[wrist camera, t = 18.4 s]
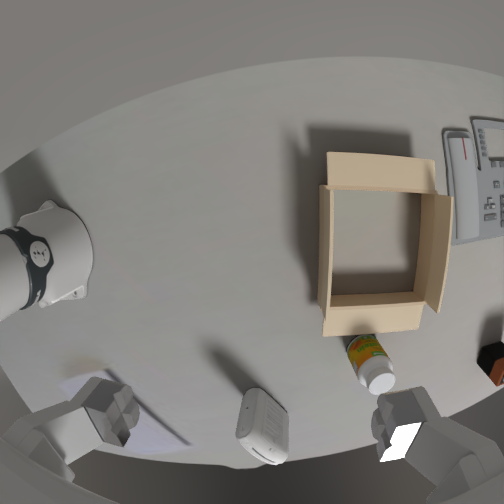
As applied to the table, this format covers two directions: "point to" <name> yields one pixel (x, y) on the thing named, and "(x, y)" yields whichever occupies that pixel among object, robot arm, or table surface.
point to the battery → (493, 362)
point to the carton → (429, 252)
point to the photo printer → (263, 427)
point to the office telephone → (474, 185)
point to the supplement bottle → (371, 364)
